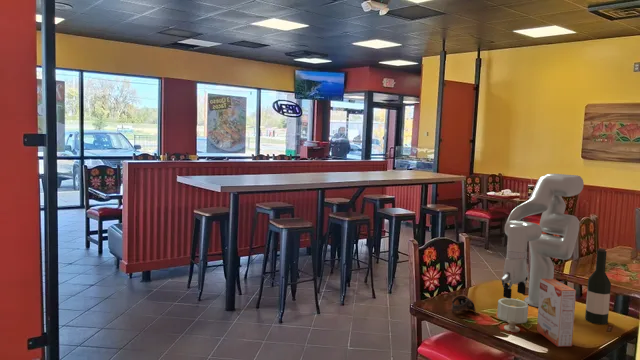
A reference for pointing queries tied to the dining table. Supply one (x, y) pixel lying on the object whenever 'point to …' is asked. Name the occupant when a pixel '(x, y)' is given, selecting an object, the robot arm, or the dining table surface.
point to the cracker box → (556, 312)
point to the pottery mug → (463, 304)
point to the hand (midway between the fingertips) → (514, 295)
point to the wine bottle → (598, 292)
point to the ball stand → (512, 326)
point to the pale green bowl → (512, 310)
